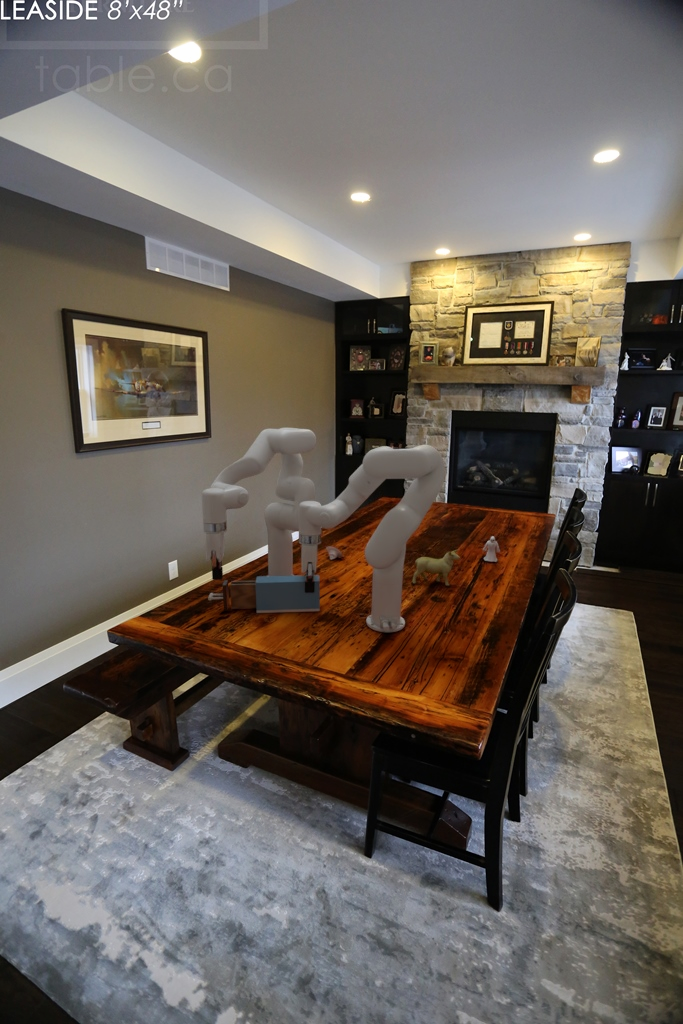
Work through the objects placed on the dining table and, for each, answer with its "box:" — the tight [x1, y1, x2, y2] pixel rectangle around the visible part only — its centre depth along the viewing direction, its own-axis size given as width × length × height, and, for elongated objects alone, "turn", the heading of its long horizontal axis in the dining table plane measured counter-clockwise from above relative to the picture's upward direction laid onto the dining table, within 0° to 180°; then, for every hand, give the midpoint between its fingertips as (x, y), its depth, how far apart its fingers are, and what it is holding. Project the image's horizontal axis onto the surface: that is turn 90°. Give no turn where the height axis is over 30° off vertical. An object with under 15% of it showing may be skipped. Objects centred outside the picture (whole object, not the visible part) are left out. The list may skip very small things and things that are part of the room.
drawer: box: [207, 579, 256, 612], centre depth 170 cm, size 25×4×9 cm, turn 94°
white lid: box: [325, 545, 343, 561], centre depth 222 cm, size 8×5×8 cm
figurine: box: [482, 535, 501, 563], centre depth 223 cm, size 8×8×12 cm
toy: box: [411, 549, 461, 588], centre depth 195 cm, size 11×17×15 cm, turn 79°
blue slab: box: [255, 574, 321, 614], centre depth 171 cm, size 21×6×11 cm, turn 94°
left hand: (217, 578), depth 168 cm, fingers closed
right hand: (309, 588), depth 171 cm, fingers closed on blue slab, 5 cm apart
